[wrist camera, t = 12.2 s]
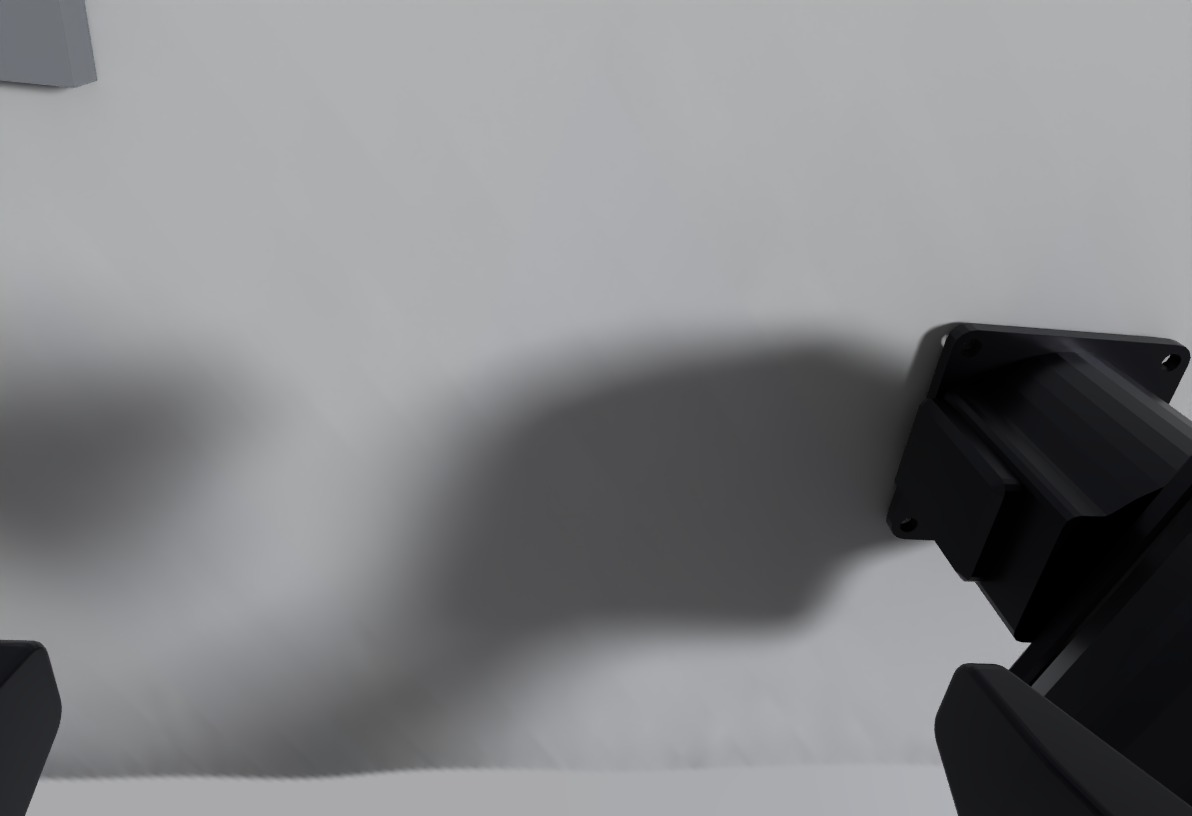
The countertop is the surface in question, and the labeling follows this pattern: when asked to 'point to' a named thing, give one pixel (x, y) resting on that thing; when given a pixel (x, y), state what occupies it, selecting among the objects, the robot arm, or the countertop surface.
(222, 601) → the countertop surface
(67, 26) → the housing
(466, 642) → the countertop surface
